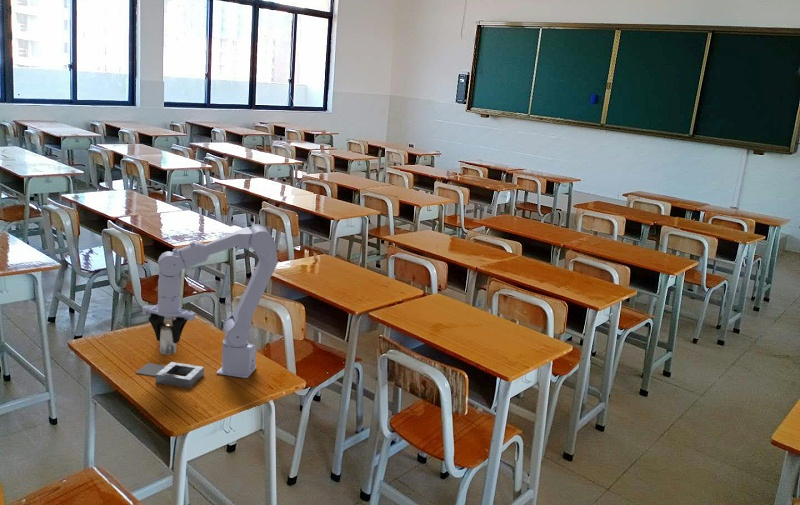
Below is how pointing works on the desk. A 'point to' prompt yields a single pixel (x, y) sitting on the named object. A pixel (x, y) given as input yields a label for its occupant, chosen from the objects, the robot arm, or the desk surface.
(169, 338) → the metal cylinder
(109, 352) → the desk surface
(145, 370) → the mat
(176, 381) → the housing
